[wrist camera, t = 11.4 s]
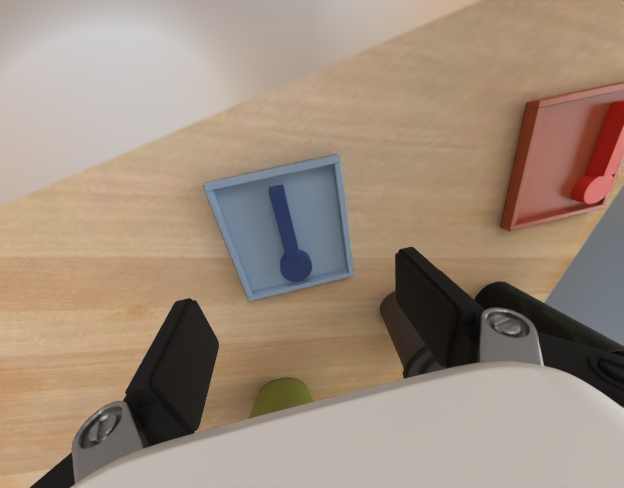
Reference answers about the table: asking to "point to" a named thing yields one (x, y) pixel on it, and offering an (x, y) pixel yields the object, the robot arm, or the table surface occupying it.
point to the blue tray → (264, 230)
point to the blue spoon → (289, 239)
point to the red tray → (557, 156)
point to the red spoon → (603, 158)
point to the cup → (544, 317)
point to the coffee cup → (407, 340)
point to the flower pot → (280, 396)
